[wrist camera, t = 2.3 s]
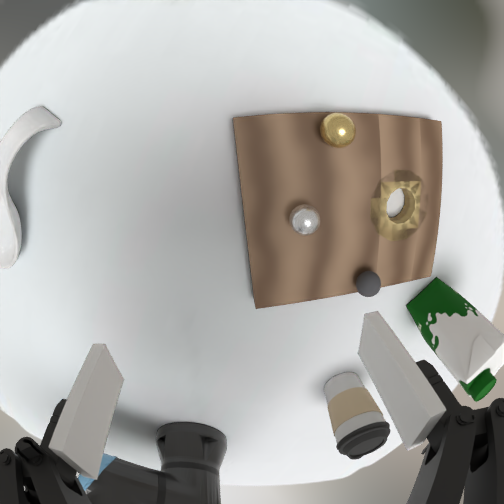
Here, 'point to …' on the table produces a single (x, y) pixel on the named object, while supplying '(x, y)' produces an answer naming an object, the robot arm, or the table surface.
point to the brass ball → (337, 130)
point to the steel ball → (304, 219)
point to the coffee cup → (354, 416)
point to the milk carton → (459, 337)
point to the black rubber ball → (368, 283)
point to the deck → (337, 202)
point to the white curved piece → (3, 153)
